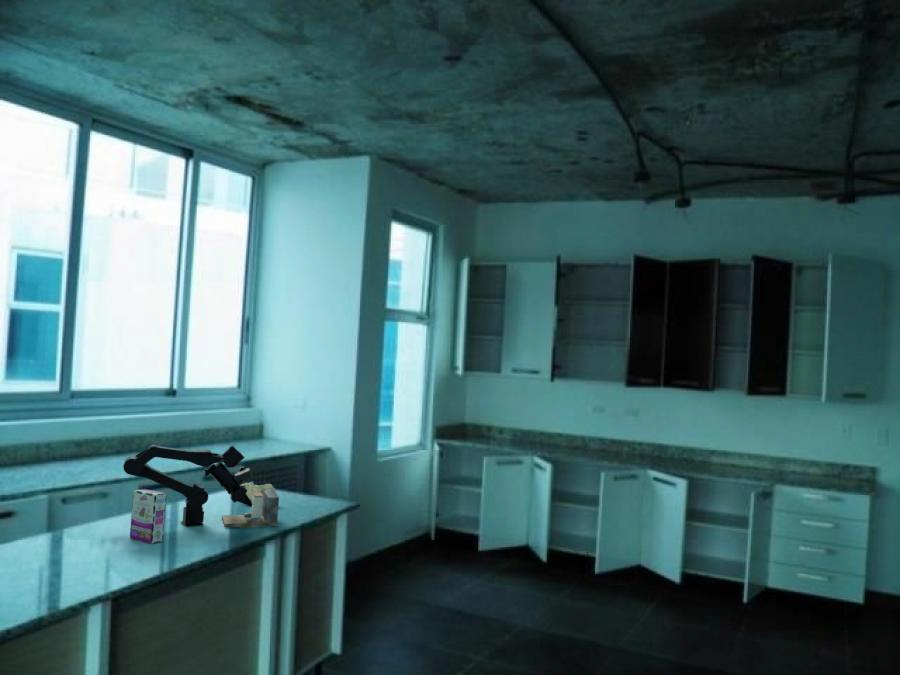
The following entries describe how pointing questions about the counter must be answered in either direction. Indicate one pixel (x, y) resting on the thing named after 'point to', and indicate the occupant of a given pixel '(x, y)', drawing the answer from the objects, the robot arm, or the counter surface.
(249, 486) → the cheese
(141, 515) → the candy bar box
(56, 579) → the counter surface
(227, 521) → the wooden platform
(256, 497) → the pink-topped white block
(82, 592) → the counter surface
